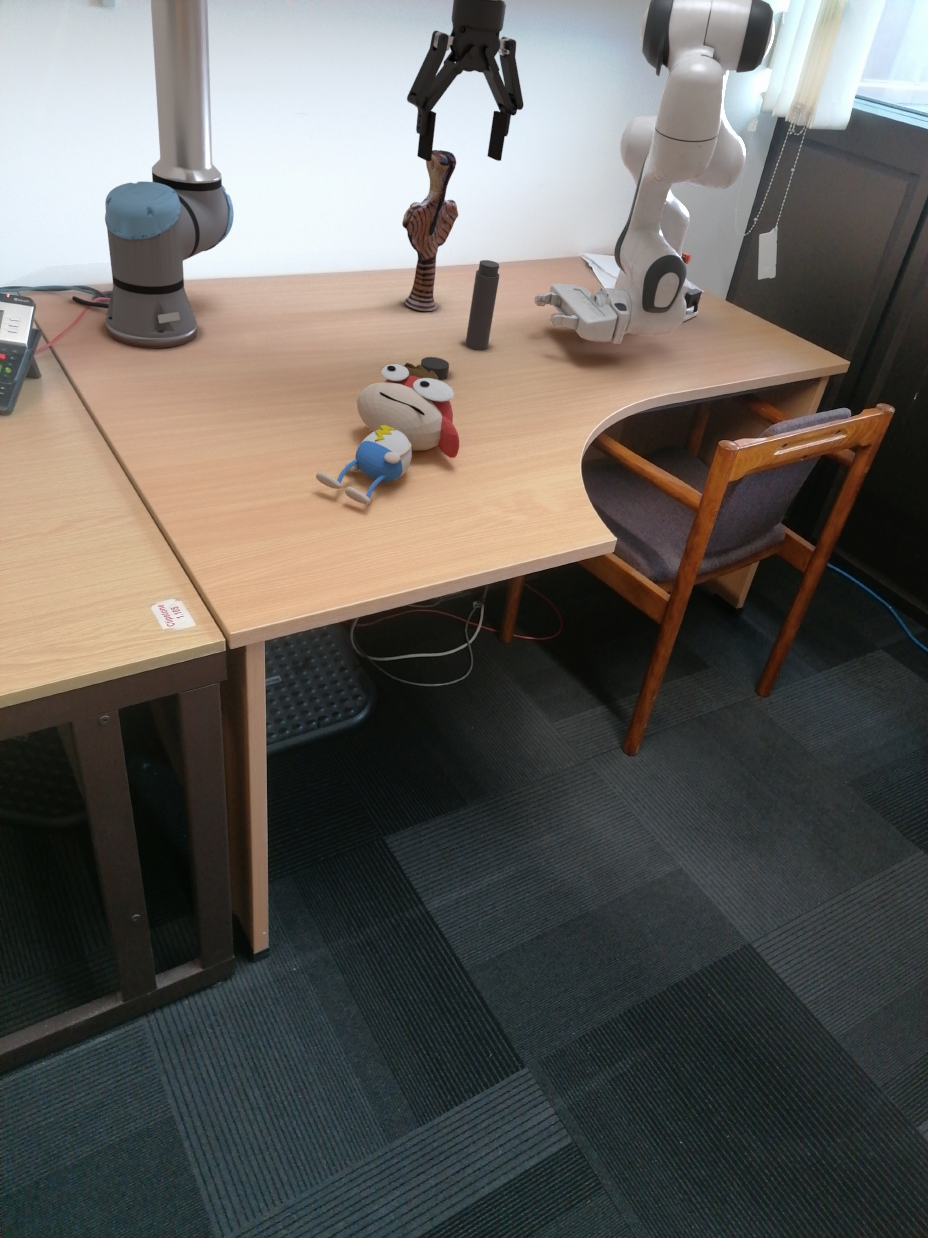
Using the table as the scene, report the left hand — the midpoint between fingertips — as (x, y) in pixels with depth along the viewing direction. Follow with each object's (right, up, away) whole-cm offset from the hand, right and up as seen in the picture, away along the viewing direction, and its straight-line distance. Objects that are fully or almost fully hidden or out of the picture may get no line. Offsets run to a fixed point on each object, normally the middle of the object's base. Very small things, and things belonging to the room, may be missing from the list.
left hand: (460, 158), depth 139 cm
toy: (-11, -48, -5) cm, 50 cm away
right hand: (+16, -12, +35) cm, 40 cm away
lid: (-5, -26, +21) cm, 34 cm away
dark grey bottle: (+3, -18, +35) cm, 40 cm away
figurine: (-8, -6, +48) cm, 49 cm away
